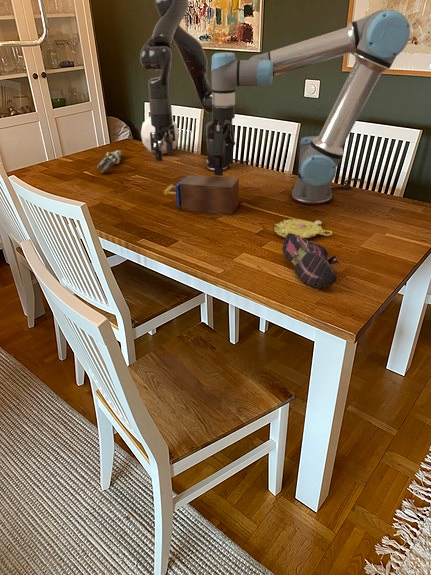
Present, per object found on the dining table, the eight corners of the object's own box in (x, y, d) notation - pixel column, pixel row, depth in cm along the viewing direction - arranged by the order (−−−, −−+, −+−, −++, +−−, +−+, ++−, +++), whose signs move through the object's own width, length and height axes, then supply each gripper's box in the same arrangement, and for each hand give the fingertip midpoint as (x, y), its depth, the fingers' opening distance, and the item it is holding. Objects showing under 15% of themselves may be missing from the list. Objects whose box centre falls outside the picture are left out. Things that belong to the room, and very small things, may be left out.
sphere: (153, 165, 235) (133, 132, 232) (185, 147, 237) (165, 113, 235) (153, 156, 216) (131, 120, 214) (188, 137, 218) (167, 100, 216)
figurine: (101, 154, 197) (119, 141, 223) (91, 167, 200) (110, 152, 227) (114, 165, 199) (130, 151, 225) (103, 178, 203) (121, 162, 229)
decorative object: (286, 211, 157) (342, 219, 147) (286, 217, 158) (341, 226, 148) (260, 233, 142) (319, 243, 133) (260, 240, 144) (319, 251, 134)
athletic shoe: (323, 277, 110) (361, 269, 114) (285, 218, 122) (321, 213, 126) (307, 304, 119) (343, 296, 123) (273, 246, 130) (307, 241, 135)
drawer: (163, 205, 167) (161, 184, 162) (172, 197, 174) (170, 176, 170) (223, 210, 161) (222, 189, 157) (229, 201, 168) (229, 180, 164)
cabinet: (181, 210, 165) (179, 183, 160) (190, 200, 173) (189, 174, 168) (231, 215, 160) (231, 187, 155) (238, 204, 168) (238, 178, 163)
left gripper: (161, 106, 161) (164, 151, 170) (141, 114, 150) (146, 162, 158) (179, 107, 158) (182, 153, 167) (160, 115, 147) (164, 164, 156)
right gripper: (222, 98, 157) (223, 158, 168) (201, 112, 137) (203, 179, 148) (243, 99, 155) (242, 159, 166) (224, 113, 135) (224, 181, 146)
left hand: (164, 157), depth 163 cm, fingers open, 8 cm apart
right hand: (223, 169), depth 157 cm, fingers open, 13 cm apart
